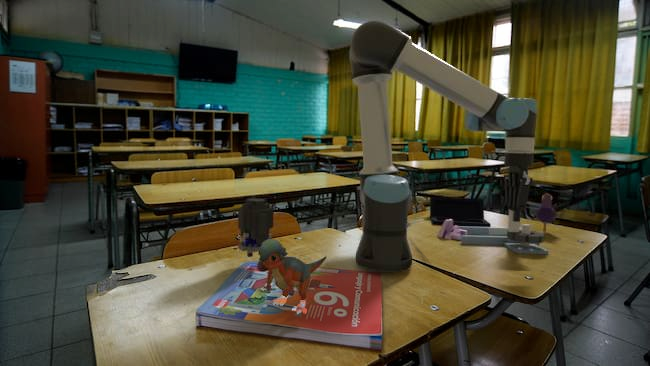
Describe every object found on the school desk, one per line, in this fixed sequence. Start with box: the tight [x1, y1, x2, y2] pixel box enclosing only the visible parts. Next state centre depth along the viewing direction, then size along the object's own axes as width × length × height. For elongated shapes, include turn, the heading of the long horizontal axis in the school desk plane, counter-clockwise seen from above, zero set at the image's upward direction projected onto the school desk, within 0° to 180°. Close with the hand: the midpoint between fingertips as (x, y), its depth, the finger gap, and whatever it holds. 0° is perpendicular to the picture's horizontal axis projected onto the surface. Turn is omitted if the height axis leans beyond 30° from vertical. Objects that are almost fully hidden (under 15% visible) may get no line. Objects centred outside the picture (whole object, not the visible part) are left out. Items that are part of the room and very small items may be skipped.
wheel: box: [506, 228, 546, 244], centre depth 114 cm, size 10×10×2 cm
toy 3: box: [534, 192, 559, 233], centre depth 137 cm, size 11×12×7 cm
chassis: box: [453, 223, 549, 255], centre depth 122 cm, size 24×25×8 cm
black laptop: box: [429, 196, 492, 227], centre depth 151 cm, size 21×16×10 cm
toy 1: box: [237, 197, 274, 258], centre depth 100 cm, size 9×9×15 cm
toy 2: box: [256, 238, 327, 301], centre depth 76 cm, size 19×11×15 cm, turn 116°
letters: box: [436, 219, 468, 241], centre depth 128 cm, size 8×7×6 cm
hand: (513, 231), depth 114 cm, fingers closed, pressing on wheel
